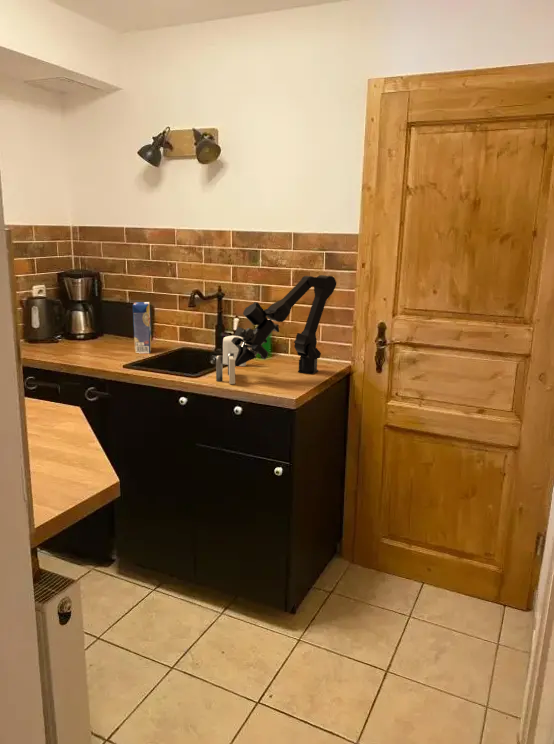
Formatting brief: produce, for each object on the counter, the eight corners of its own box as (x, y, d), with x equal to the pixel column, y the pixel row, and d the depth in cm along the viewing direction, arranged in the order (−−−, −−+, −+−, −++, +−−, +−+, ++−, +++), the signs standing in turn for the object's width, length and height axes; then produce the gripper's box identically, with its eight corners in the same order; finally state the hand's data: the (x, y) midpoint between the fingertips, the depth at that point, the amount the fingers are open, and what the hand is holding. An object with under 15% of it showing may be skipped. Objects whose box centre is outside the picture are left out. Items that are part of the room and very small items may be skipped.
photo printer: (247, 364, 239) (248, 335, 236) (244, 367, 235) (244, 337, 232) (225, 362, 242) (225, 334, 239) (221, 364, 238) (221, 335, 235)
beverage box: (151, 348, 269) (149, 302, 264) (150, 353, 259) (148, 305, 254) (136, 348, 268) (134, 302, 263) (134, 353, 258) (132, 305, 253)
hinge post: (235, 374, 223) (235, 353, 221) (231, 375, 221) (231, 354, 219) (229, 373, 224) (229, 352, 222) (226, 374, 222) (226, 353, 220)
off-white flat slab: (228, 375, 220) (228, 351, 218) (233, 375, 220) (233, 351, 218) (229, 384, 207) (229, 359, 205) (235, 384, 207) (235, 359, 205)
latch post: (223, 380, 213) (223, 355, 211) (220, 381, 211) (220, 356, 209) (218, 379, 214) (218, 355, 212) (214, 381, 212) (214, 356, 210)
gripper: (235, 315, 216) (209, 347, 212) (261, 322, 200) (233, 356, 197) (253, 334, 222) (228, 365, 219) (279, 342, 206) (253, 375, 203)
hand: (235, 365), depth 209 cm, fingers closed
